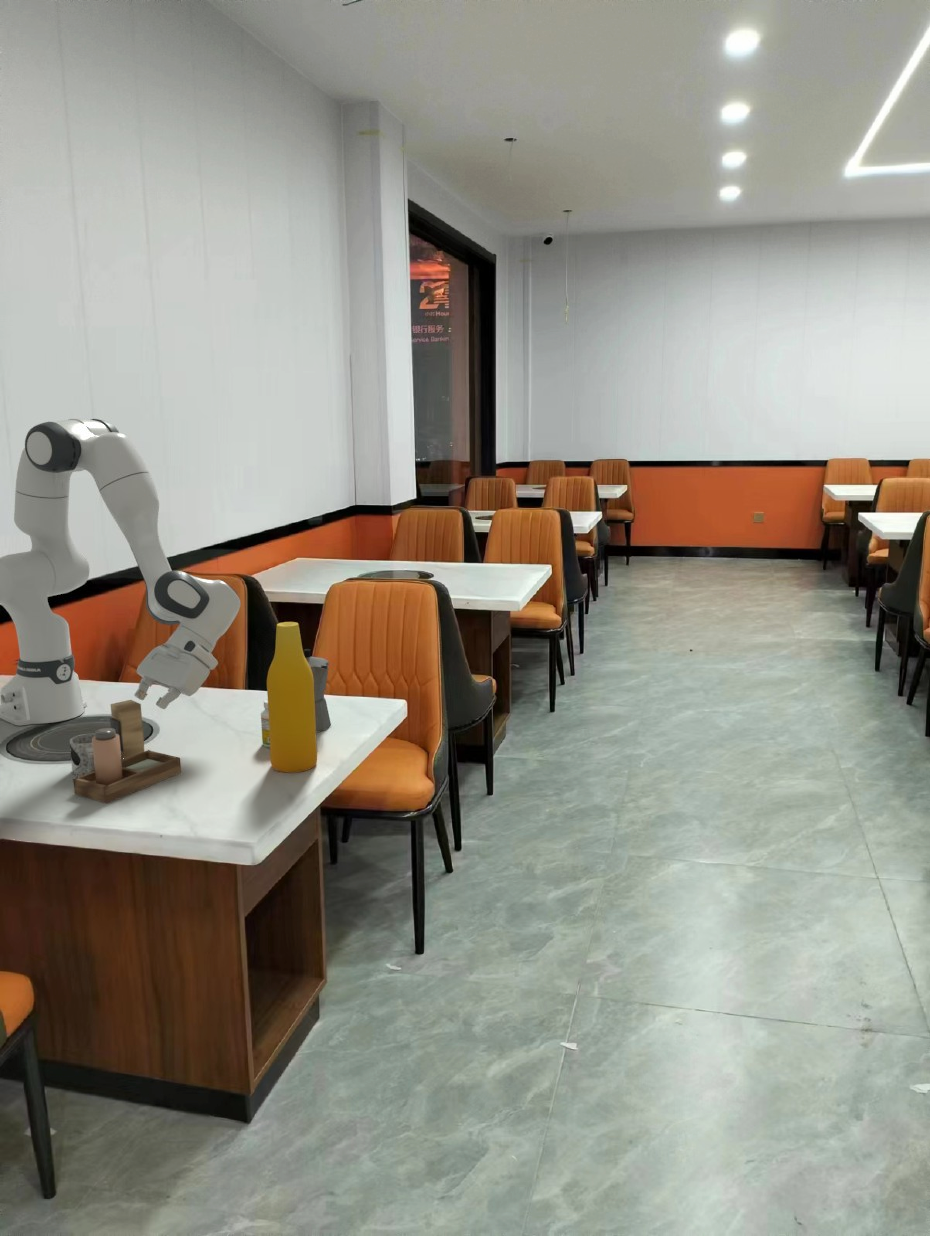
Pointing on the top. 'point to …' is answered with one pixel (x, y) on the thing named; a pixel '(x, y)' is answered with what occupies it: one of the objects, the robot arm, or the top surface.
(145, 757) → the wooden tray
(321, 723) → the coffeepot
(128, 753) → the oak block
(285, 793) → the top surface
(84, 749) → the mug
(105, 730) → the terracotta shaker
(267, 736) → the supplement bottle
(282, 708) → the beer bottle
